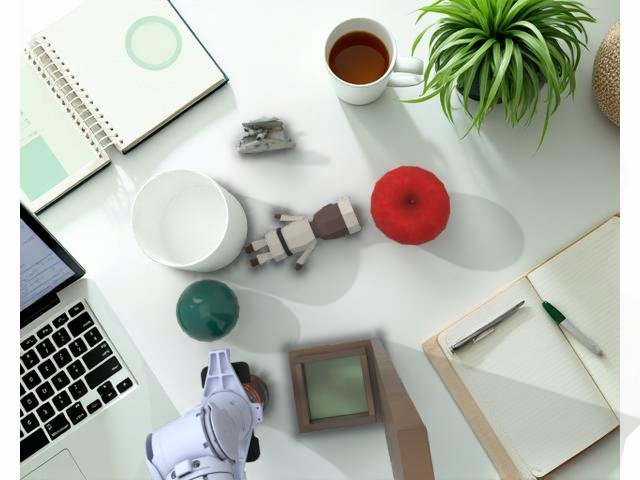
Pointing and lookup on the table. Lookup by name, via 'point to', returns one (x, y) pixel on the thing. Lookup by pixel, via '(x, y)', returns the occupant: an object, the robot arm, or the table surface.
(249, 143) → the grey irregular chunk
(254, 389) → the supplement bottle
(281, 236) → the toy
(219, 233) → the cup
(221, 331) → the sphere
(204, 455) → the robot arm
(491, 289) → the table surface
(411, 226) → the apple
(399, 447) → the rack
